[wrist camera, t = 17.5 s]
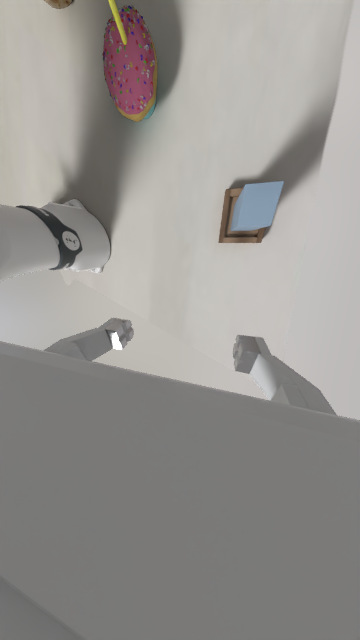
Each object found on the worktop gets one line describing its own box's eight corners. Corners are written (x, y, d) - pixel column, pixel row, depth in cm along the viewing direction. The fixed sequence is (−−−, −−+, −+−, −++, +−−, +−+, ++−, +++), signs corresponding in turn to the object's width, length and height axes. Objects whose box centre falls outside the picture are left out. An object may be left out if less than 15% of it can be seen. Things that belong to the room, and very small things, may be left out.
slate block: (230, 231, 29) (237, 226, 19) (234, 204, 27) (245, 184, 17) (251, 230, 28) (270, 225, 18) (258, 203, 26) (284, 180, 16)
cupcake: (134, 33, 20) (57, -161, 10) (176, 82, 22) (142, -47, 12) (117, 113, 25) (52, 30, 15) (152, 149, 26) (113, 95, 17)
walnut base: (218, 242, 32) (218, 242, 30) (225, 193, 27) (225, 189, 25) (257, 242, 30) (261, 242, 28) (272, 189, 25) (277, 185, 23)
